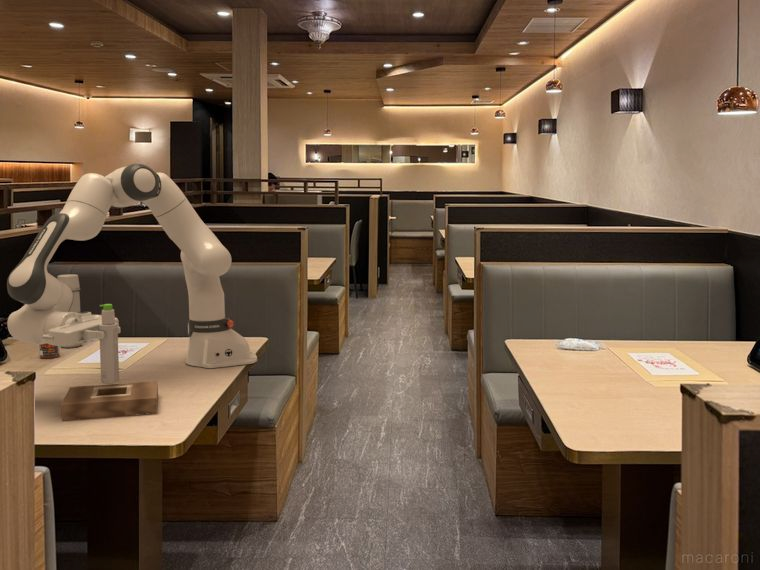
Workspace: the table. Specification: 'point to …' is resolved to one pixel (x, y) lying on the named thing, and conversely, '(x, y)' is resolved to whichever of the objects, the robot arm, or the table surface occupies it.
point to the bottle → (109, 346)
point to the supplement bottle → (49, 351)
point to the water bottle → (74, 285)
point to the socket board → (110, 400)
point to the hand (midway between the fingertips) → (111, 332)
